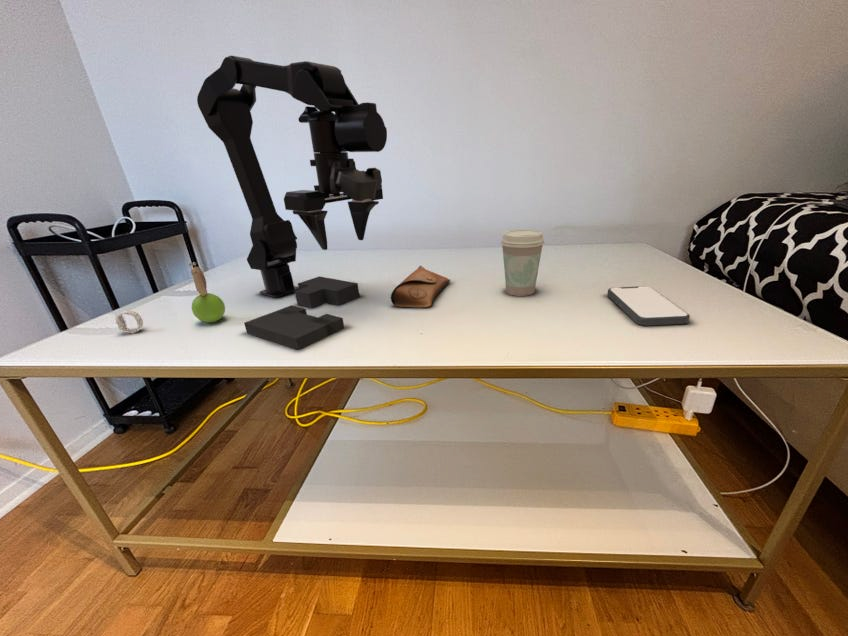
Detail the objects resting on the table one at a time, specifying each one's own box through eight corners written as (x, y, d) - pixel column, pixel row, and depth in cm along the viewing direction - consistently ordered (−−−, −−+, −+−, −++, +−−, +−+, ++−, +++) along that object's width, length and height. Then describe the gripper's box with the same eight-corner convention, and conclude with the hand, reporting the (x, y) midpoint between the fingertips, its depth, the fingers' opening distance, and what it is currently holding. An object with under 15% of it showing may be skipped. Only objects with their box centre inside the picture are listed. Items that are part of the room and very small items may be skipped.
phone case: (691, 325, 68) (648, 293, 82) (694, 316, 67) (650, 285, 81) (638, 328, 68) (604, 295, 82) (639, 319, 67) (605, 287, 81)
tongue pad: (285, 302, 87) (282, 288, 85) (321, 289, 94) (319, 276, 93) (324, 311, 81) (321, 296, 79) (359, 296, 88) (357, 283, 86)
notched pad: (246, 333, 72) (243, 322, 71) (293, 314, 80) (291, 305, 79) (298, 350, 65) (295, 338, 64) (344, 328, 73) (342, 317, 72)
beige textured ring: (147, 328, 76) (139, 308, 75) (143, 332, 75) (134, 311, 73) (126, 331, 76) (116, 310, 74) (121, 335, 74) (111, 314, 72)
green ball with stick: (196, 331, 74) (173, 265, 69) (197, 319, 79) (175, 257, 74) (229, 324, 76) (209, 260, 71) (228, 314, 82) (209, 253, 76)
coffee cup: (495, 296, 84) (495, 236, 79) (505, 284, 91) (507, 228, 86) (536, 299, 81) (540, 237, 76) (544, 287, 88) (548, 229, 83)
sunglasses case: (432, 305, 79) (413, 276, 77) (404, 321, 82) (385, 293, 80) (451, 279, 95) (436, 254, 93) (427, 293, 98) (411, 269, 96)
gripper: (319, 154, 60) (335, 261, 67) (401, 150, 73) (407, 239, 81) (272, 154, 65) (292, 253, 73) (356, 151, 79) (366, 234, 86)
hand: (343, 244), depth 78 cm, fingers open, 9 cm apart
